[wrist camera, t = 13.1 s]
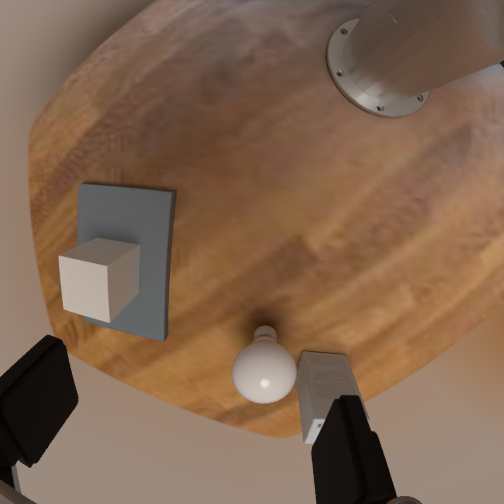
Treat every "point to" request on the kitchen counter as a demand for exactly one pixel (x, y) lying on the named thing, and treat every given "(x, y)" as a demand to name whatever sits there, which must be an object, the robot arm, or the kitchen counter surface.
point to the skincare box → (322, 388)
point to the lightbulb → (264, 368)
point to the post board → (137, 232)
